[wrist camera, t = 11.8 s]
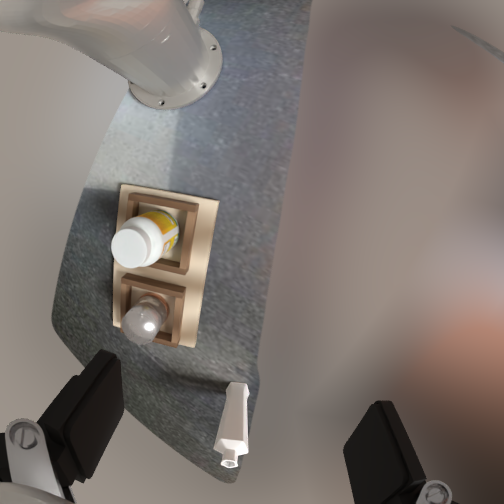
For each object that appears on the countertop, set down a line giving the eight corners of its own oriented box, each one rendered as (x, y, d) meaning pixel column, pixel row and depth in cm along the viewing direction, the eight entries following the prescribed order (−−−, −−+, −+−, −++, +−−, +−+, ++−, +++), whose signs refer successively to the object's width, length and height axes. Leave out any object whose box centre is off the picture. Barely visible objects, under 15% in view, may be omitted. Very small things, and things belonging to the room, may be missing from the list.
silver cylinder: (139, 288, 38) (121, 307, 32) (170, 296, 38) (156, 317, 32) (137, 317, 39) (121, 339, 33) (168, 326, 39) (154, 349, 33)
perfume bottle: (219, 381, 43) (205, 455, 28) (246, 378, 42) (240, 454, 28) (226, 400, 44) (216, 472, 30) (252, 398, 44) (249, 471, 29)
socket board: (124, 183, 35) (114, 185, 32) (219, 200, 35) (215, 203, 32) (115, 322, 41) (107, 331, 38) (195, 344, 41) (191, 355, 38)
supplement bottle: (183, 249, 36) (157, 275, 27) (144, 251, 36) (110, 276, 27) (177, 206, 35) (149, 219, 25) (138, 210, 35) (101, 224, 26)
